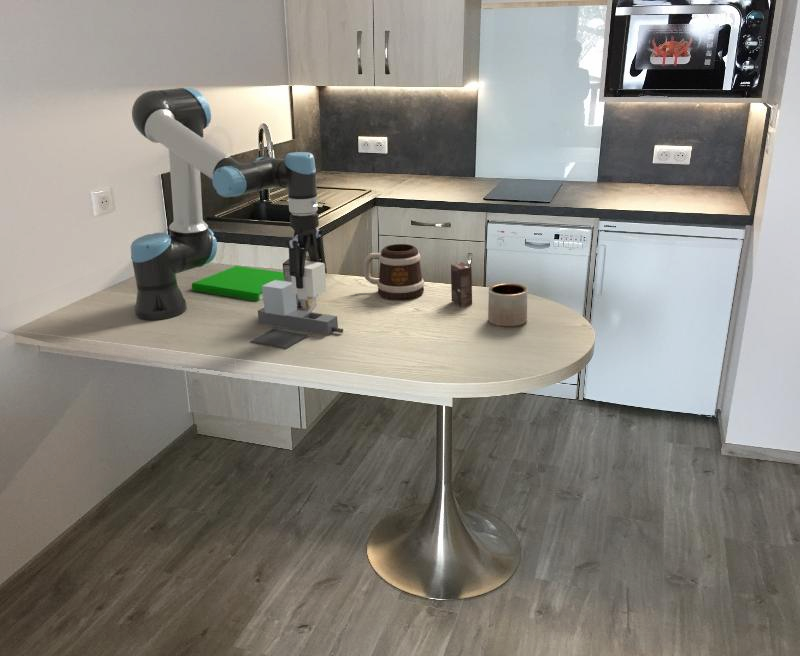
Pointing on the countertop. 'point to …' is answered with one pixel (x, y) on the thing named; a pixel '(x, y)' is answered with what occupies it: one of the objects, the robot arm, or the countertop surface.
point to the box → (461, 284)
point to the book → (238, 282)
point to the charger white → (312, 279)
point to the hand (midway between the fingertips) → (309, 294)
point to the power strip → (302, 321)
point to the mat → (279, 338)
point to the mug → (397, 272)
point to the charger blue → (279, 298)
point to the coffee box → (301, 303)
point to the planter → (507, 305)
